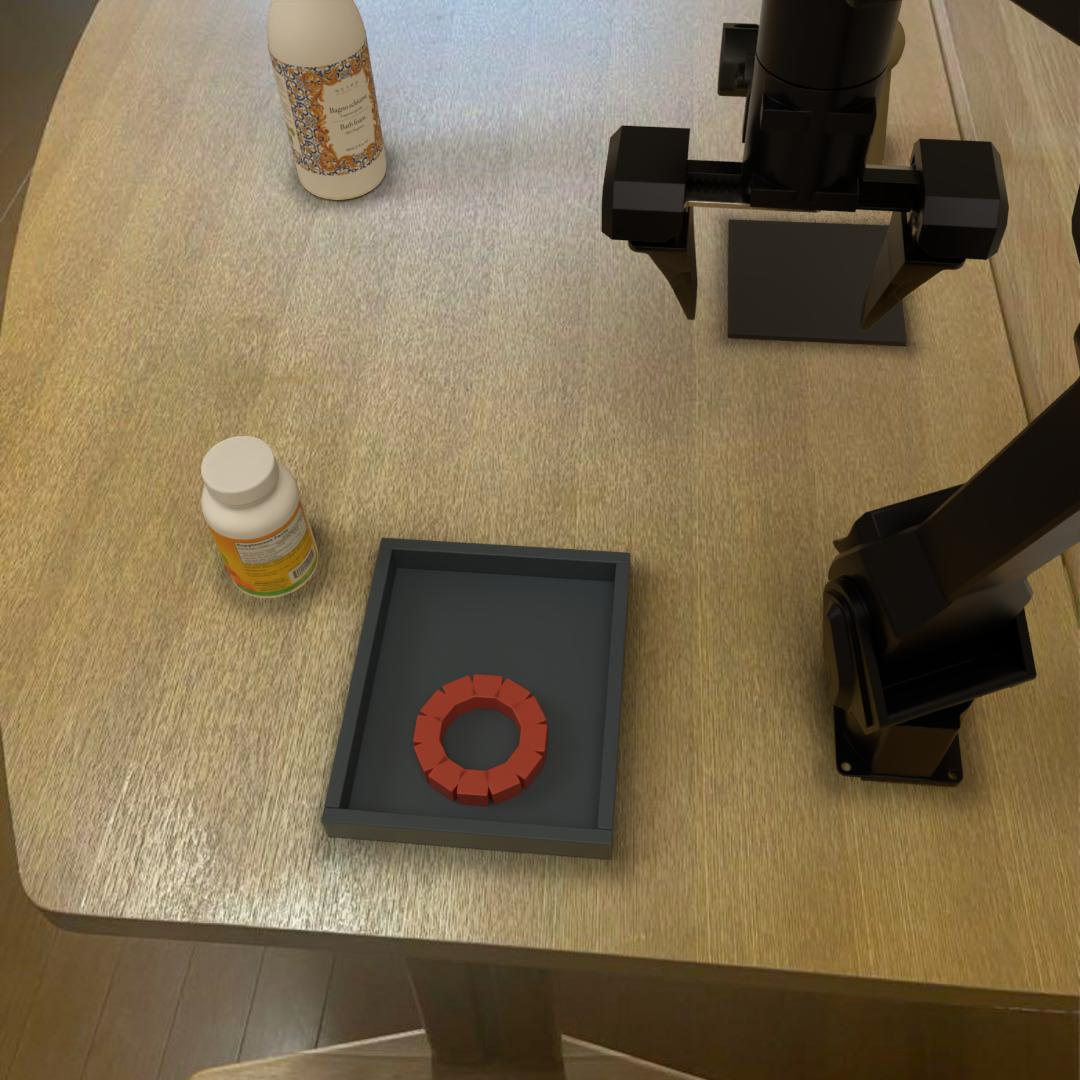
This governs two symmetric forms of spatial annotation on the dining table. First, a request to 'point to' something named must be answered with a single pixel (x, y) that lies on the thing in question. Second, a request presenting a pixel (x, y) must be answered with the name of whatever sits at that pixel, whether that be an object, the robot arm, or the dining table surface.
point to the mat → (805, 282)
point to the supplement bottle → (257, 518)
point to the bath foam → (327, 95)
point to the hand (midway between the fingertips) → (777, 319)
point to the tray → (484, 734)
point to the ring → (479, 783)
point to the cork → (885, 101)
